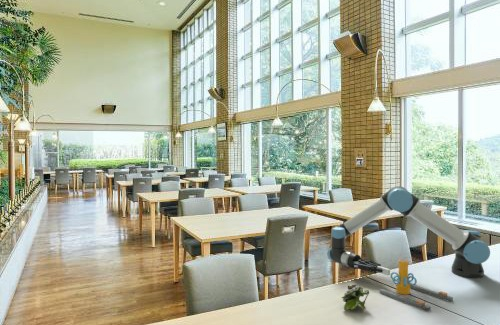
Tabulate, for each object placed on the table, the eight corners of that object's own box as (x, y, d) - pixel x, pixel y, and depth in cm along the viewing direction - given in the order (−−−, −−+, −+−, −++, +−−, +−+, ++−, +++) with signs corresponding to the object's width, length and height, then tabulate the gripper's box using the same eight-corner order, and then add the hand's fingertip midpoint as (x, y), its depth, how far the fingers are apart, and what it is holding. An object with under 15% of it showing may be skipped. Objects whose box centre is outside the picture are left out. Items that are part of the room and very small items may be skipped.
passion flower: (351, 316, 161) (359, 290, 166) (370, 321, 152) (378, 293, 156) (333, 306, 157) (342, 279, 162) (352, 310, 148) (361, 282, 152)
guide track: (379, 292, 173) (379, 287, 173) (404, 284, 184) (404, 279, 183) (427, 311, 153) (428, 305, 153) (452, 300, 163) (453, 295, 163)
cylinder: (418, 298, 166) (418, 265, 166) (393, 296, 168) (394, 264, 168) (412, 288, 178) (412, 257, 178) (389, 286, 180) (389, 256, 180)
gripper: (359, 264, 203) (397, 277, 183) (343, 269, 196) (380, 282, 176) (359, 251, 202) (397, 262, 183) (343, 255, 195) (380, 267, 176)
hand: (389, 272), depth 179 cm, fingers closed
